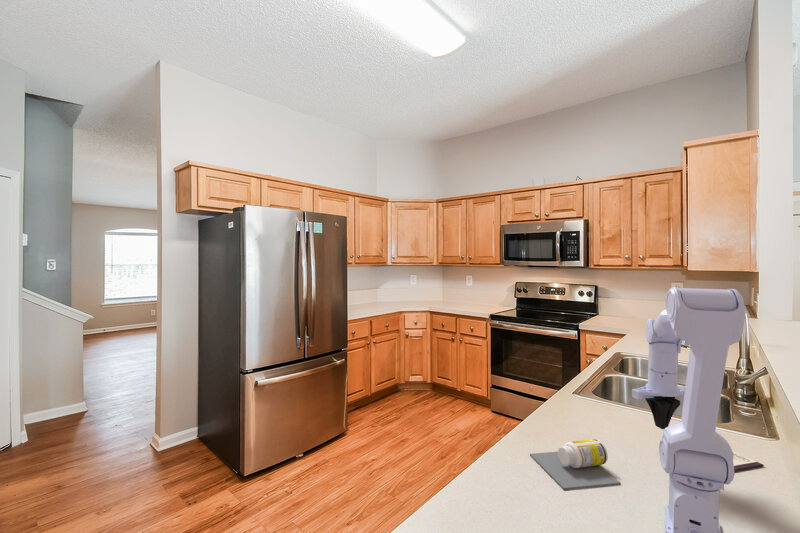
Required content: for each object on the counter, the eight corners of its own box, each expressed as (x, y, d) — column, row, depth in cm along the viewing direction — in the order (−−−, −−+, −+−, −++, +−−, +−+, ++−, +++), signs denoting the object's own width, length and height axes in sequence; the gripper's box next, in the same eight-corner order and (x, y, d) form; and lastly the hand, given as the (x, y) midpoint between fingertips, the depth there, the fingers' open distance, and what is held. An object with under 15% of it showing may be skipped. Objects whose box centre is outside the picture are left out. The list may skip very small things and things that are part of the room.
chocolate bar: (668, 454, 92) (722, 446, 97) (668, 458, 92) (722, 449, 97) (706, 474, 84) (763, 464, 88) (706, 478, 84) (763, 468, 88)
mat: (579, 451, 94) (579, 449, 94) (620, 484, 80) (620, 482, 80) (529, 455, 92) (529, 453, 92) (563, 489, 78) (563, 488, 78)
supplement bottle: (588, 450, 92) (553, 455, 89) (595, 433, 90) (558, 437, 87) (605, 470, 87) (567, 475, 84) (612, 451, 85) (573, 456, 82)
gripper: (674, 364, 92) (672, 418, 93) (622, 366, 90) (621, 421, 90) (701, 373, 85) (699, 431, 86) (646, 375, 83) (644, 435, 83)
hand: (661, 427), depth 88 cm, fingers closed
